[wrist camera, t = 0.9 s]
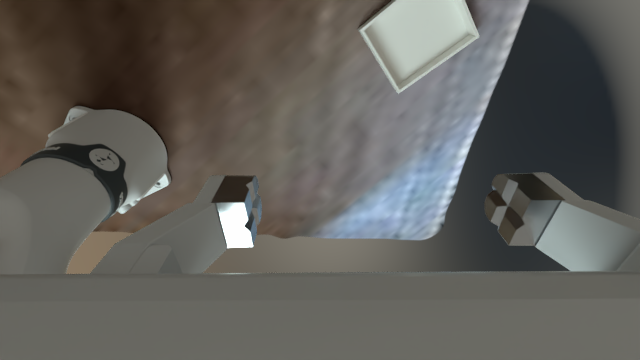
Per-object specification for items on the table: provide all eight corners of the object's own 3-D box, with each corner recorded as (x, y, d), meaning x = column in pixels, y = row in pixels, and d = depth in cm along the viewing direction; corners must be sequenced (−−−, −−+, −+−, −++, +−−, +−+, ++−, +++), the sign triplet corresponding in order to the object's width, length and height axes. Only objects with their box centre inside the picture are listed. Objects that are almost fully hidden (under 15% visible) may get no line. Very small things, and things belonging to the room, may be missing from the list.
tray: (394, 89, 46) (398, 93, 44) (357, 28, 41) (359, 30, 39) (471, 35, 42) (479, 36, 40) (439, -40, 37) (447, -42, 35)
